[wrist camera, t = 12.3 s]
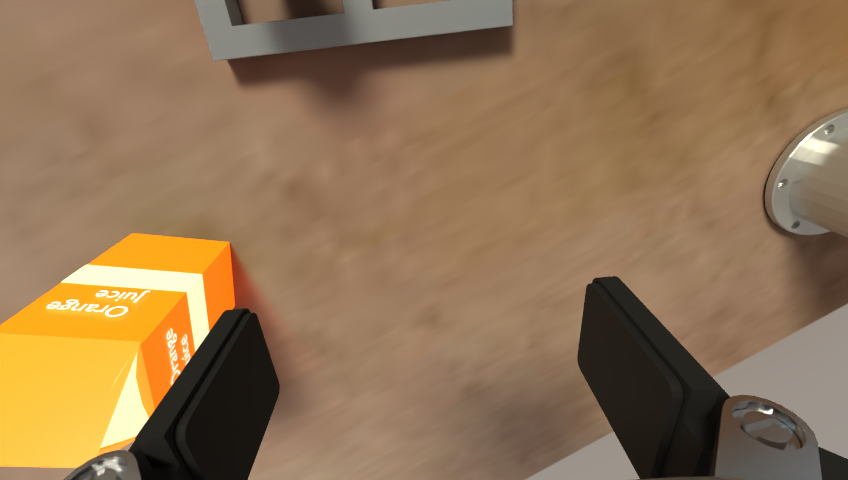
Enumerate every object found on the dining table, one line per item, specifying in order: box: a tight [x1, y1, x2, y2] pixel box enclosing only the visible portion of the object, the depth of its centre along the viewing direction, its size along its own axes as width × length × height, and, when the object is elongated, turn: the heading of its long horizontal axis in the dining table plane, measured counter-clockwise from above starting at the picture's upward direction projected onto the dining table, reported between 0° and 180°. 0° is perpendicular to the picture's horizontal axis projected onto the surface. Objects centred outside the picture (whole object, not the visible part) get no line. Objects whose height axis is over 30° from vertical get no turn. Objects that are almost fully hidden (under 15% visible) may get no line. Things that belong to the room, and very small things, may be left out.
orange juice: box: [0, 233, 235, 468], centre depth 29 cm, size 8×9×20 cm
